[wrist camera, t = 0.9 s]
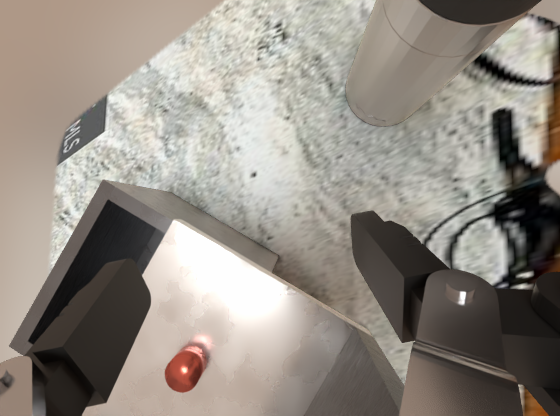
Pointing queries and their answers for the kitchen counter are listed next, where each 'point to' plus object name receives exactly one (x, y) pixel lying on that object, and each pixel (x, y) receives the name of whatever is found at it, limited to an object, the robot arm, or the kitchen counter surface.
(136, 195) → the open grey storage bin
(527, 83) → the kitchen counter surface
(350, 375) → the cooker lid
